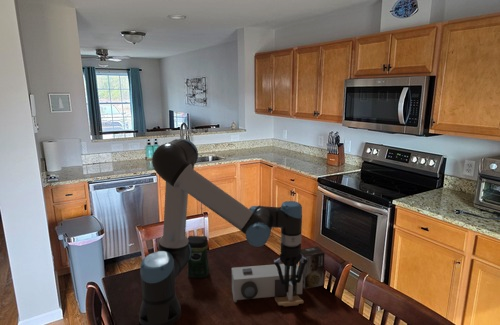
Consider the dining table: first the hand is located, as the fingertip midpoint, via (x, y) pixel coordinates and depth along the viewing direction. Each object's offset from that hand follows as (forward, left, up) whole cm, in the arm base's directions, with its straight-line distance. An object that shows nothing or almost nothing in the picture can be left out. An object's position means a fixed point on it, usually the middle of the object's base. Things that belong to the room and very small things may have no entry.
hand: (289, 298), depth 129 cm
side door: (0, +5, -2) cm, 6 cm away
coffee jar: (-35, +29, -4) cm, 45 cm away
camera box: (-7, +10, -3) cm, 12 cm away
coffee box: (+13, +13, -4) cm, 18 cm away
